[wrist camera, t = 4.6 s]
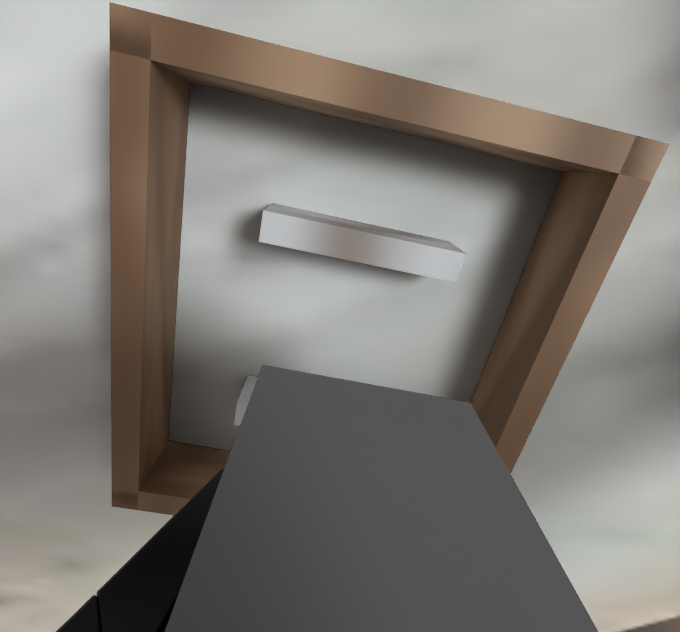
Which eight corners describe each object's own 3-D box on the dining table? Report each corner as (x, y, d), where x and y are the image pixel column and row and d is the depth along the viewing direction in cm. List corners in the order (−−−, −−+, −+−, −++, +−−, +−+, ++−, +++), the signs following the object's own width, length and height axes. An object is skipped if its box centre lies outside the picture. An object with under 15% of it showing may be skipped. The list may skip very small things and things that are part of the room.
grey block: (470, 402, 9) (760, 920, 3) (412, 547, 11) (514, 1063, 5) (262, 364, 9) (76, 875, 3) (237, 522, 11) (91, 1052, 4)
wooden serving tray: (601, 147, 16) (669, 143, 13) (451, 502, 23) (470, 557, 20) (160, 38, 14) (109, 2, 11) (145, 454, 22) (111, 506, 18)
